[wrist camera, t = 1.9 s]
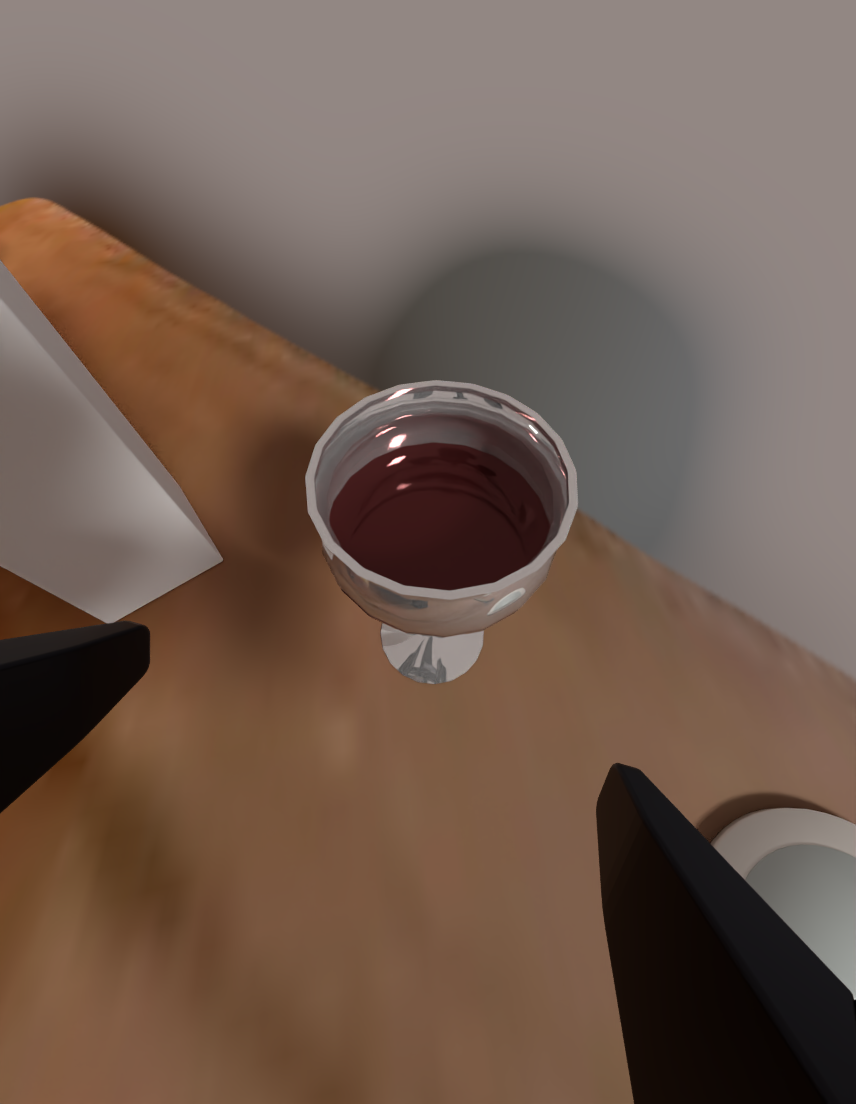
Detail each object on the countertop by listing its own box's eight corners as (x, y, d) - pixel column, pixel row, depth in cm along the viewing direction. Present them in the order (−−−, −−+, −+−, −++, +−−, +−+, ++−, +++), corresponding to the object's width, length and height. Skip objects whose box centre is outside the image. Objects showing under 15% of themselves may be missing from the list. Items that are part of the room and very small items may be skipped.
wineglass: (386, 727, 19) (343, 647, 9) (346, 592, 22) (277, 413, 12) (526, 673, 20) (637, 546, 10) (469, 552, 23) (508, 356, 13)
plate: (848, 1286, 12) (870, 1312, 12) (632, 881, 17) (640, 884, 16) (1071, 1077, 14) (1100, 1090, 14) (826, 764, 19) (840, 763, 18)
